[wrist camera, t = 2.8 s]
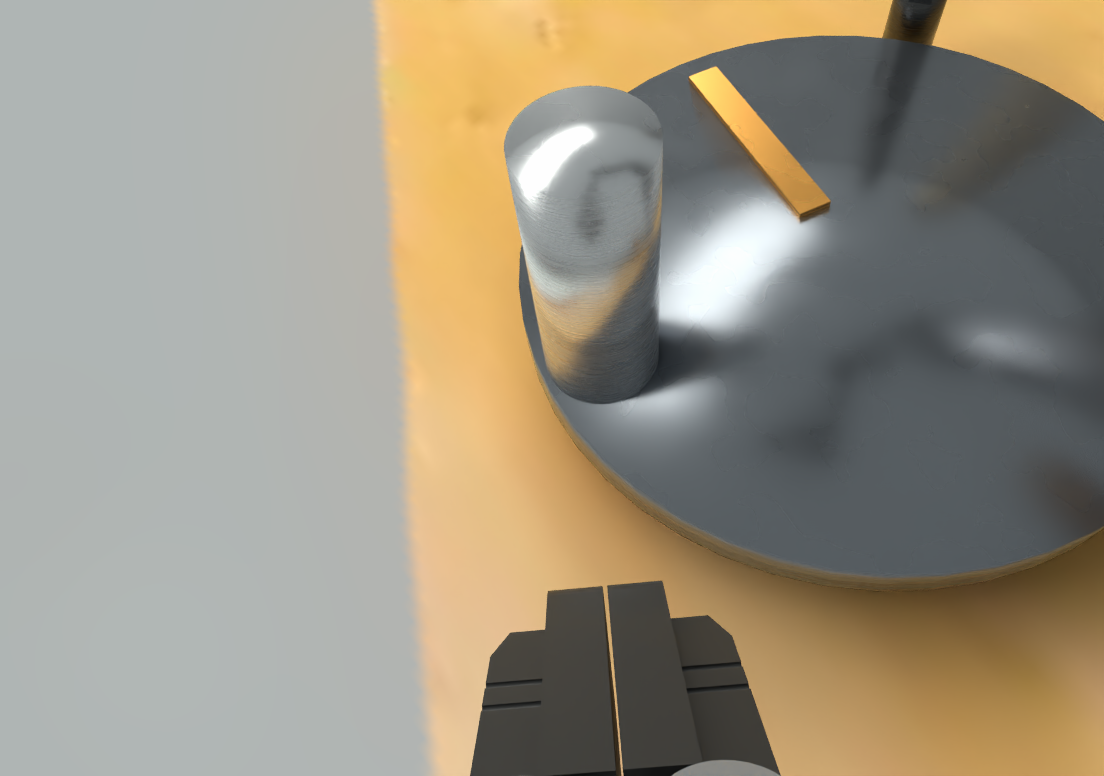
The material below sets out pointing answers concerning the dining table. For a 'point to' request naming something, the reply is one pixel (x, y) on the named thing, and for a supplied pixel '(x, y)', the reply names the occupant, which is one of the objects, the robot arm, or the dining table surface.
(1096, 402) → the turntable
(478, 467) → the dining table surface
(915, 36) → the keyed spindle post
